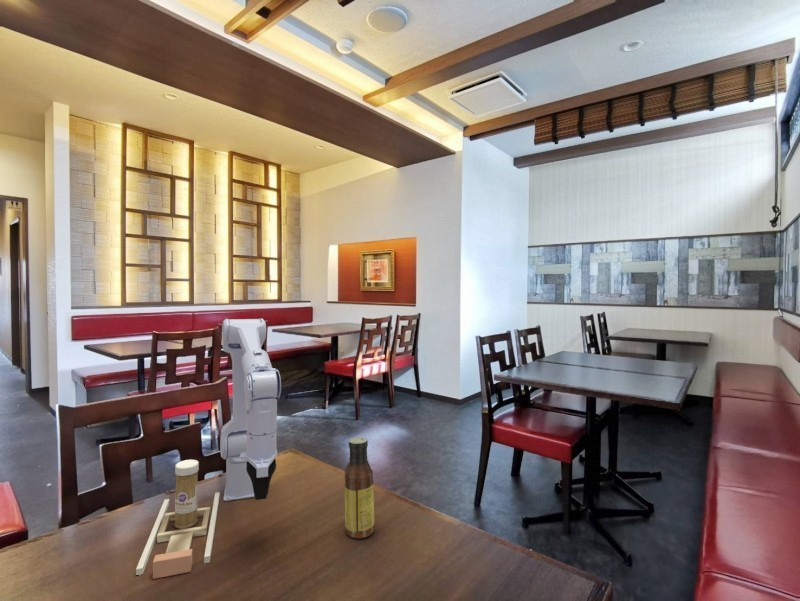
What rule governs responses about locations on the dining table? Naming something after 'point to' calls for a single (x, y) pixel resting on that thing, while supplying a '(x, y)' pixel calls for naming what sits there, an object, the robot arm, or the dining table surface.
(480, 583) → the dining table surface
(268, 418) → the robot arm
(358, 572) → the dining table surface
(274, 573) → the dining table surface
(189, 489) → the sprinkles bottle
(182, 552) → the sliding strip
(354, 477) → the sauce bottle
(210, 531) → the lane rails
